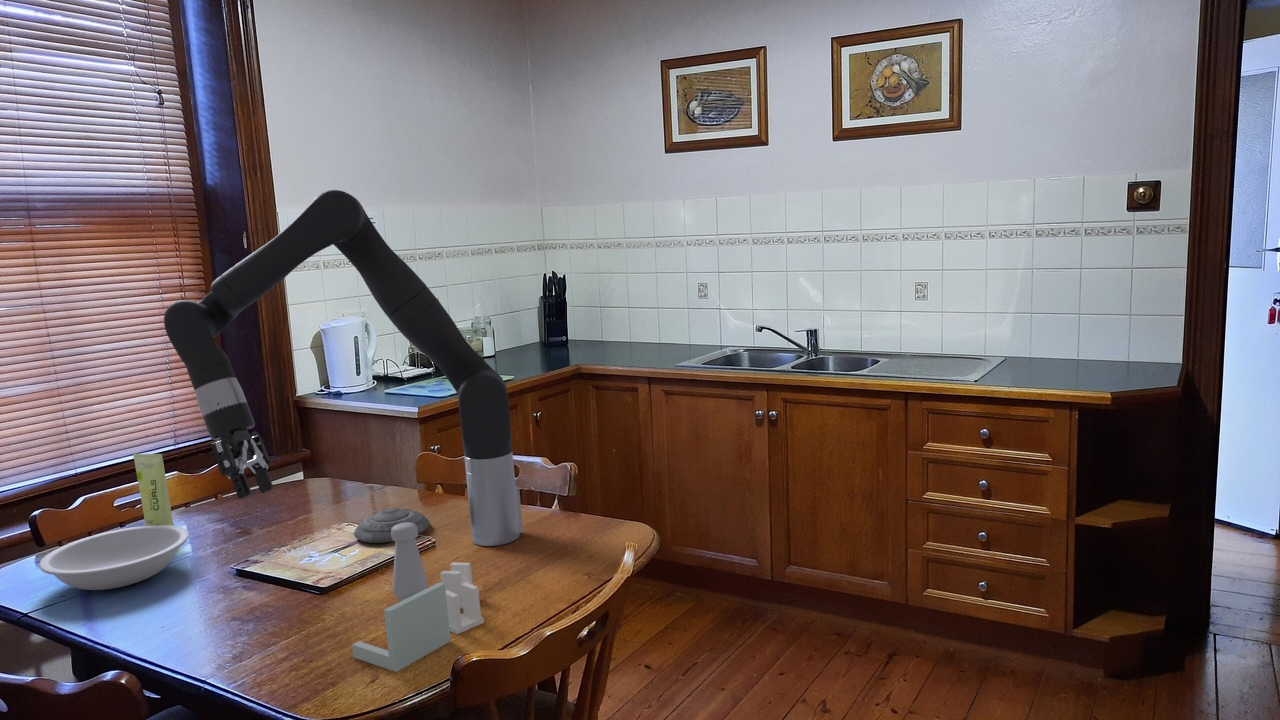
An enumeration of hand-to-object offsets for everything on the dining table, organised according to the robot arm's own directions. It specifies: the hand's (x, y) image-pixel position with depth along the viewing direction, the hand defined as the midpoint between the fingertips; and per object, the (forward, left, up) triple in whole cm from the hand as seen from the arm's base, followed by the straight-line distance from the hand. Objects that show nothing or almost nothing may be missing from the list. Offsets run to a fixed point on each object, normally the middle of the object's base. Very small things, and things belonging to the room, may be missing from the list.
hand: (257, 494), depth 159 cm
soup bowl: (+12, -27, -17) cm, 34 cm away
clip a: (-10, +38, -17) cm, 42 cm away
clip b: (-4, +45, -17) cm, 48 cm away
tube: (-2, -39, -17) cm, 43 cm away
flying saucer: (-28, +1, -17) cm, 33 cm away
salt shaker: (-7, +30, -17) cm, 35 cm away
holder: (+6, +42, -17) cm, 45 cm away
